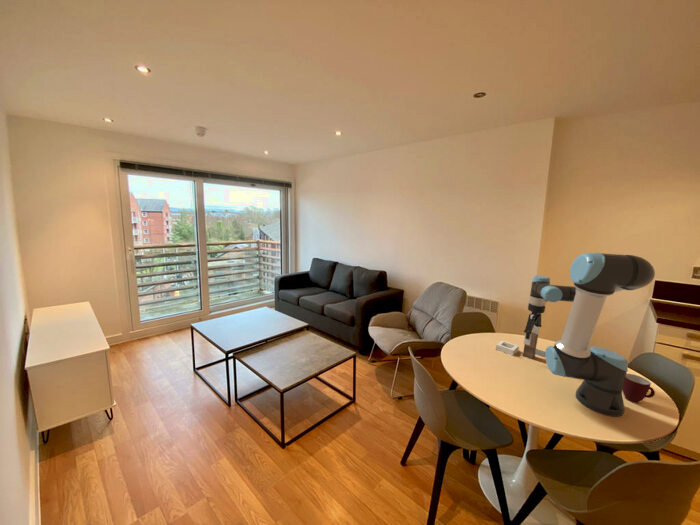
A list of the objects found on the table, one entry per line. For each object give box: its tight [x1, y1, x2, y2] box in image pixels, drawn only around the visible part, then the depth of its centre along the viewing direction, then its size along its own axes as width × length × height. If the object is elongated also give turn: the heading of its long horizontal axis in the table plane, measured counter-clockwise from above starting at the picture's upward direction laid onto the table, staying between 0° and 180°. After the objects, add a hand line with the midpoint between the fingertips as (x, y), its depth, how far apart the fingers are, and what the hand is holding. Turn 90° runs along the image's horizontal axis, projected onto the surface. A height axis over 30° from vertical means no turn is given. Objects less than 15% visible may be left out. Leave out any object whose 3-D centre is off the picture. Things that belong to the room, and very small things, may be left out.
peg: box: [522, 331, 539, 360], centre depth 151 cm, size 4×4×14 cm
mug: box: [622, 373, 656, 404], centre depth 116 cm, size 11×8×10 cm
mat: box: [535, 348, 545, 358], centre depth 157 cm, size 7×7×1 cm
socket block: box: [495, 340, 520, 357], centre depth 158 cm, size 9×9×3 cm
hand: (530, 340), depth 151 cm, fingers open, 13 cm apart
